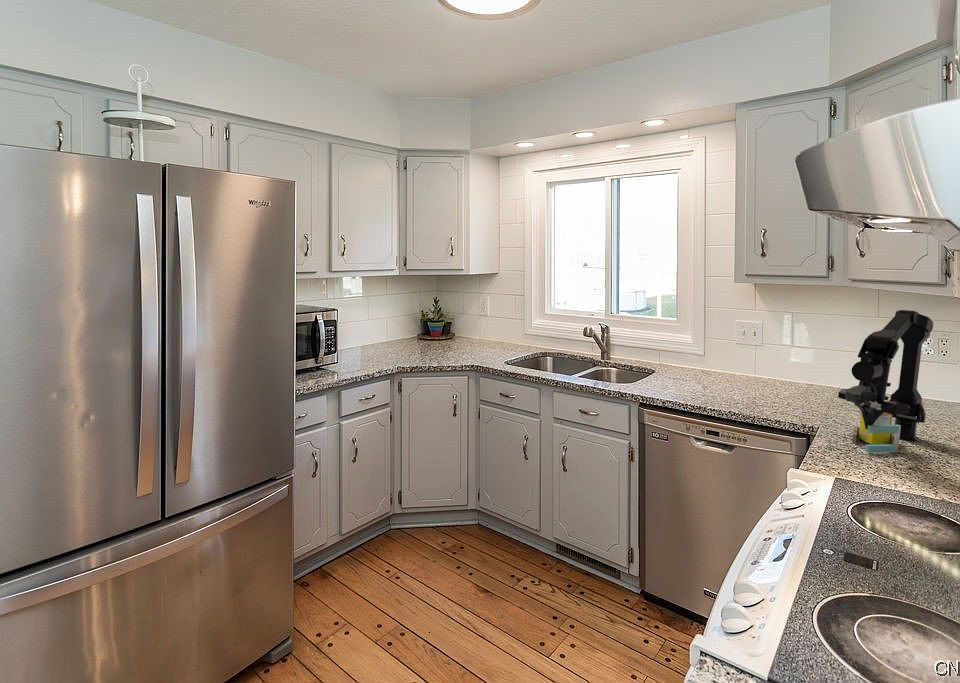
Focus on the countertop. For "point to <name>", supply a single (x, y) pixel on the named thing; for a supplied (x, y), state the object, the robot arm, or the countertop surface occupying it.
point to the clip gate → (884, 429)
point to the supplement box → (875, 437)
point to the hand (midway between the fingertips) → (867, 429)
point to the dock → (856, 434)
